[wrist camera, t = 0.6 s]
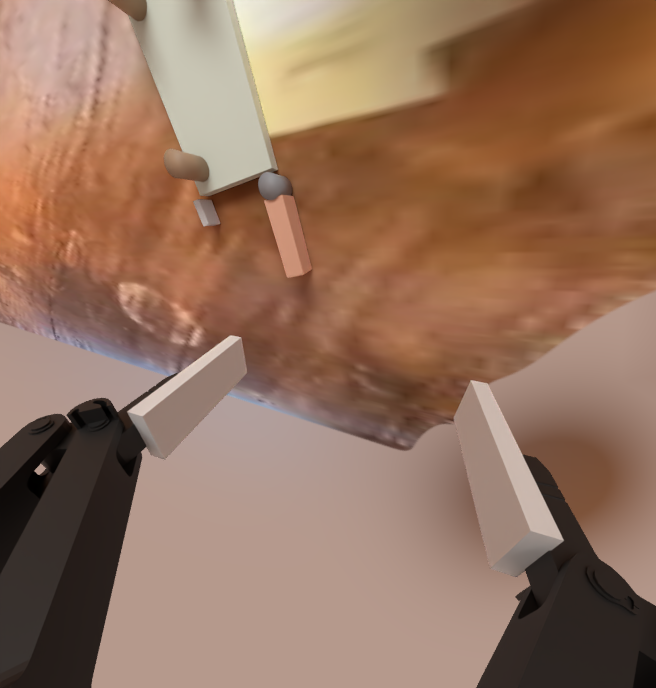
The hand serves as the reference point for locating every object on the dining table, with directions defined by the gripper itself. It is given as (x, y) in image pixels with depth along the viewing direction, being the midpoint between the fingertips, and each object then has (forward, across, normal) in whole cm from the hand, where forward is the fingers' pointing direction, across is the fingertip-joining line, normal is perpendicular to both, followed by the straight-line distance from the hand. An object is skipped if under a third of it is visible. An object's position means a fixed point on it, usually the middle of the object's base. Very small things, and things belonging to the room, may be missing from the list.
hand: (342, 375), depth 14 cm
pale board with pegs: (+22, -21, +17) cm, 35 cm away
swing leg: (+21, -12, +6) cm, 25 cm away
